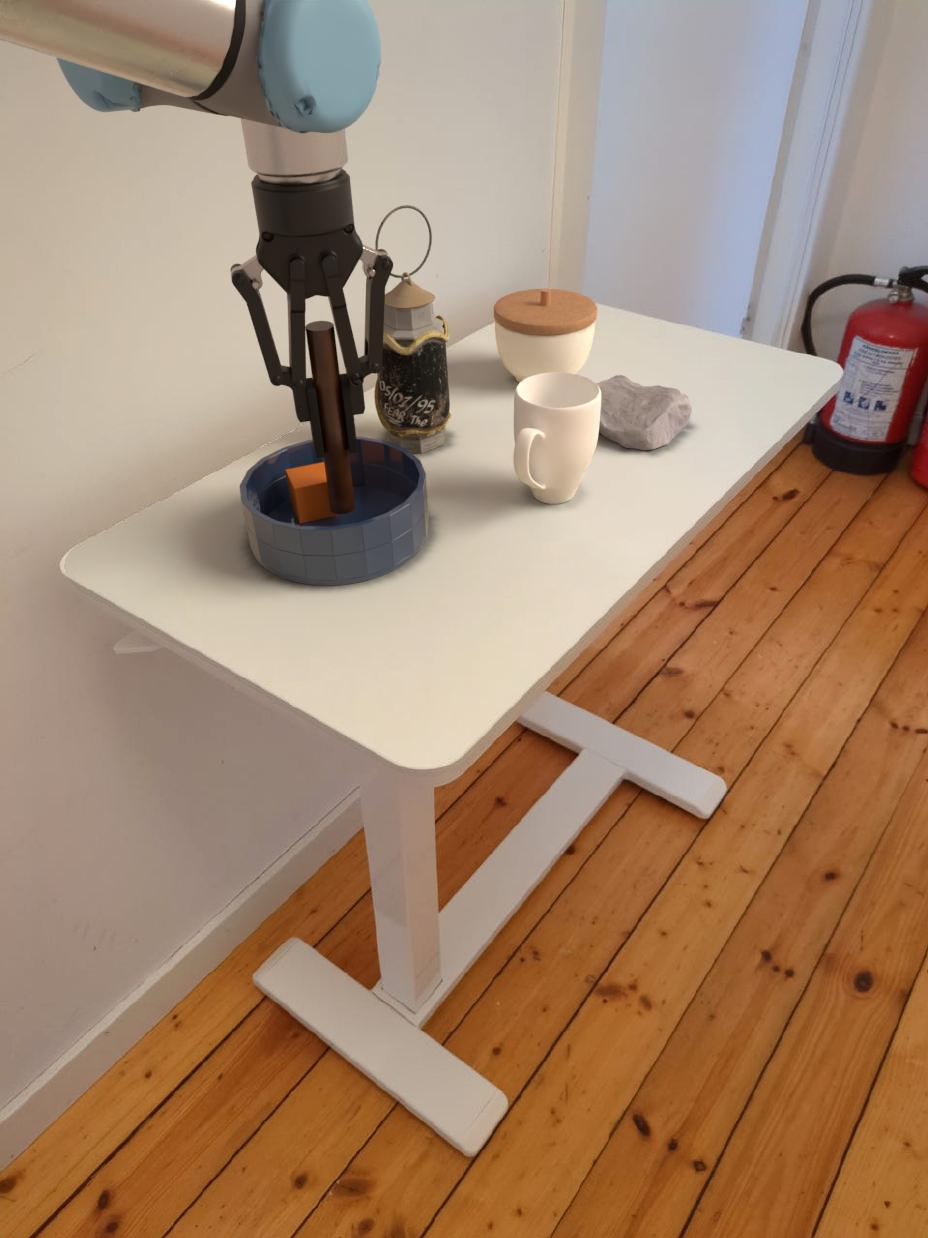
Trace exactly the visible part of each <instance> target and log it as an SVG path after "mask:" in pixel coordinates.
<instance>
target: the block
mask: <svg viewBox="0 0 928 1238" xmlns="http://www.w3.org/2000/svg"><path fill="white" fill-rule="evenodd" d="M285 472H286V478H287V483H288V489H289V495H290V501H291V505H292V507H293V510H294V512H295V514H296V516H297V518H298V521H299V523H300V524H301V523H306V522H310V521H315V520H319V519H324V518H328V517H333V516H337V515H339V514H335V513H333V512H332V511H331V510H330V503H329V495H328V488H327V481H326V474H325V466H324V462H321V463H316V464H311V465H306V466H302V467H297V468H292V469H287V470H285Z"/></svg>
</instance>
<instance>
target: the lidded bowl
mask: <svg viewBox="0 0 928 1238" xmlns="http://www.w3.org/2000/svg"><path fill="white" fill-rule="evenodd" d="M597 317H598V305H597V304H596V302H595V301H594V300H593V299H592V298H591V297H589V296H587V295H584V294H582V293H580V292H576V291H572V290H566V289H560V288H559V289H557V288H546V287H545V288H531V289H523V290H519V291H515V292H512V293H511V292H510V293H509V294H506V295H503V296H502V297H501V298H499V299H498V300H497V301H496V302H495V303H494V305H493V319H494V335H495V345H496V348H497V352H498V355H499V358H500V360H501V362H502V364H503V366H504V367H505V368H506V370H507V371H508V372H509V373H510V374H511V375H512V376H514V379H515V380H516V382H517V383H518V384H519V383H520V382H521V381H523V380H524V379H526V378H528V377H531V376H534V375H538V374H543V373H554V372H560V373H571V374H576V375H577V373H578V372H579V371H580V370H581V369H582V368H583V366H584V365H585V364H586V362H587V360H588V358H589V356H590V354H591V350H592V347H593V343H594V337H595V330H596V320H597Z"/></svg>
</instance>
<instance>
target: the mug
mask: <svg viewBox="0 0 928 1238" xmlns="http://www.w3.org/2000/svg"><path fill="white" fill-rule="evenodd" d="M600 410H601V390H600V388H599V386H598V385H597V383H596V382H595V381H594V380H592V379H590V378H589V377H586V376H583V375H580V374H577V373H576V374H571V373H560V372H554V373H543V374H538V375H534V376H531V377H528V378H526V379H524V380H523V381H521V382H520V383H519V382H518V384H517V385H516V387H515V390H514V395H513V438H514V449H513V469H514V473H515V475H516V477H517V478H518V479H519V480H520V481H521V482H522V483H524V484H525V485H527V486H528V487H529V488H530V491H531V493H532V496H533V497H534V498H535V499H536V500H537V501H539V502H542V503H544V504H549V505H550V504H551V505H557V504H558V505H559V504H564V503H566V502H569V501H570V500H571V499H573V498H574V496H575V494H576V493H577V490H578V488H579V486H580V484H581V482H582V480H583V478H584V476H585V474H586V472H587V470H588V468H589V466H590V464H591V462H592V459H593V457H594V455H595V451H596V448H597V445H598V439H599V434H600V433H599V423H600Z"/></svg>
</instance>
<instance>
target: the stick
mask: <svg viewBox="0 0 928 1238" xmlns="http://www.w3.org/2000/svg"><path fill="white" fill-rule="evenodd" d="M335 331H336V330H335V324H334V322H331V321H328V320H316V321H312V322H309V323H307V324H305V337H306V343H307V348H308V349H307V350H308V357H309V363H310V365H309V366H310V371H311V378H312V379H313V385H314V386H315V390H316V397H317V404H318V412H319V419H320V426H321V434H322V441H323V448H324V455H325V457H323V459H324V466H325V474H326V481H327V488H328V495H329V503H330V510H331V511H332V512H333V513H335V514H347V513H350V512H352V511H353V510H354V509H355V501H354V493H353V484H352V476H351V467H350V459H349V450H348V443H347V434H346V426H345V417H344V409H343V401H342V392H341V384H340V374H341V373H340V367H339V357H338V349H337V348H338V347H337V341H336V332H335Z"/></svg>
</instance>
